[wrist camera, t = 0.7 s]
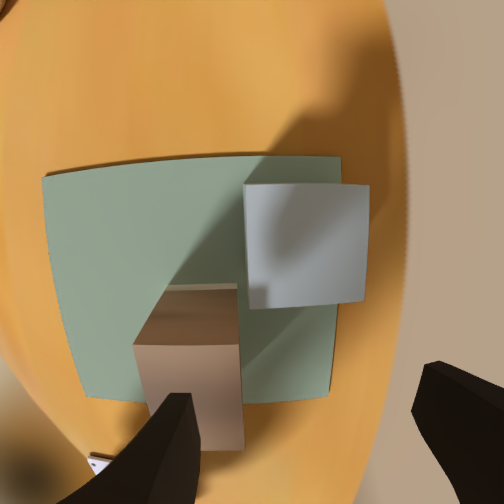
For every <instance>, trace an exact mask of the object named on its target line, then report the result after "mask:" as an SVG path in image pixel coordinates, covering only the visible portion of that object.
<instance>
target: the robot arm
mask: <svg viewBox="0 0 504 504" xmlns="http://www.w3.org/2000/svg"><path fill="white" fill-rule="evenodd" d="M411 412H412V415H413V417H414V419H415V422H416V424H417V427H418V429H419V431H420V433H421V435H422V437H423V438H424V440H425V442H426V443H427V445H428V447H429V448H430V450H431V451H432V453H433V455H434V456H435V458H436V459H437V461H438V462H439V464H440V465H441V467H442V469H443V470H444V472H445V474H446V475H447V477H448V478H449V480H450V482H451V484H452V486H453V488H454V490H455V492H456V495H457V497H458V499H459V502H460V504H504V388H502V387H500V386H497V385H495V384H492V383H490V382H488V381H486V380H483V379H481V378H479V377H477V376H474V375H472V374H470V373H468V372H466V371H463V370H461V369H459V368H457V367H454V366H452V365H450V364H447V363H444V362H442V361H436V362H432V363H429V364H425V365H424V368H423V372H422V376H421V380H420V383H419V387H418V390H417V393H416V397H415V400H414V403H413V406H412V409H411ZM200 456H201V437H200V433H199V428H198V424H197V419H196V414H195V409H194V404H193V399H192V394H191V393H169V394H168V395H167V397H166V398H165V399H164V401H163V402H162V403H161V405H160V406H159V407H158V409H157V410H156V411H155V413H154V414H153V415H152V417H151V418H150V419H149V420H148V422H147V423H146V424H145V425H144V427H143V428H142V429H141V430H140V431H139V432H138V434H137V435H136V436H135V437H134V438H133V440H132V441H131V442H130V443H129V444H128V445H127V446H126V447H125V448H124V449H123V450H122V451H121V452H120V453H119V454H118V455H117V456H116V457H115V458H114V459H113V460H110V459H104V458H99V457H94V456H88V458H87V461H88V462H89V464H90V466H91V467H92V469H93V471H94V472H95V474H96V476H95V477H93V478H92V479H91V480H90V481H89V482H87V483H86V484H85V485H83V486H82V487H81V488H79V489H78V490H76V491H75V492H73V493H72V494H70V495H69V496H68V497H66V498H65V499H63V500H61V501H60V502H58V503H56V504H194V503H195V497H196V491H197V484H198V478H199V472H200Z"/></svg>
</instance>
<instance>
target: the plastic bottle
mask: <svg viewBox="0 0 504 504" xmlns="http://www.w3.org/2000/svg"><path fill="white" fill-rule="evenodd" d="M5 3H6V0H0V13H1V11H2V9H3V7H4V5H5Z"/></svg>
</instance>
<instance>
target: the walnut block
mask: <svg viewBox="0 0 504 504" xmlns="http://www.w3.org/2000/svg"><path fill="white" fill-rule="evenodd" d="M132 346H133V350H134V355H135V359H136V363H137V368H138V372H139V376H140V380H141V384H142V388H143V391H144V395H145V399H146V402H147V406H148V409H149V413H150V416H151V417H152V415H153V414H154V413H155V411H156V410H157V409H158V407H159V406H160V405H161V403H162V402H163V401H164V399H165V398H166V397H167V395H168V394H169V393H191V394H192V399H193V404H194V409H195V414H196V419H197V424H198V428H199V433H200V437H201V451H242V450H245V437H244V417H243V396H242V373H241V353H240V334H239V313H238V292H237V283H217V284H184V285H168V286H167V287H166V289H165V290H164V292H163V294H162V295H161V297H160V299H159V300H158V302H157V304H156V305H155V307H154V309H153V310H152V312H151V314H150V315H149V317H148V319H147V320H146V322H145V324H144V325H143V327H142V329H141V331H140V332H139V334H138V336H137V337H136V339H135V341H134V343H133V344H132Z"/></svg>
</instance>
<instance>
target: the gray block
mask: <svg viewBox="0 0 504 504" xmlns="http://www.w3.org/2000/svg"><path fill="white" fill-rule="evenodd" d="M369 201H370V185H359V184H341V183H256V184H243V208H244V239H245V269H246V282H247V290H248V299H249V308H250V309H268V308H286V307H302V306H316V305H329V304H341V303H353V302H363V301H364V295H365V284H366V272H367V256H368V237H369Z"/></svg>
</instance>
